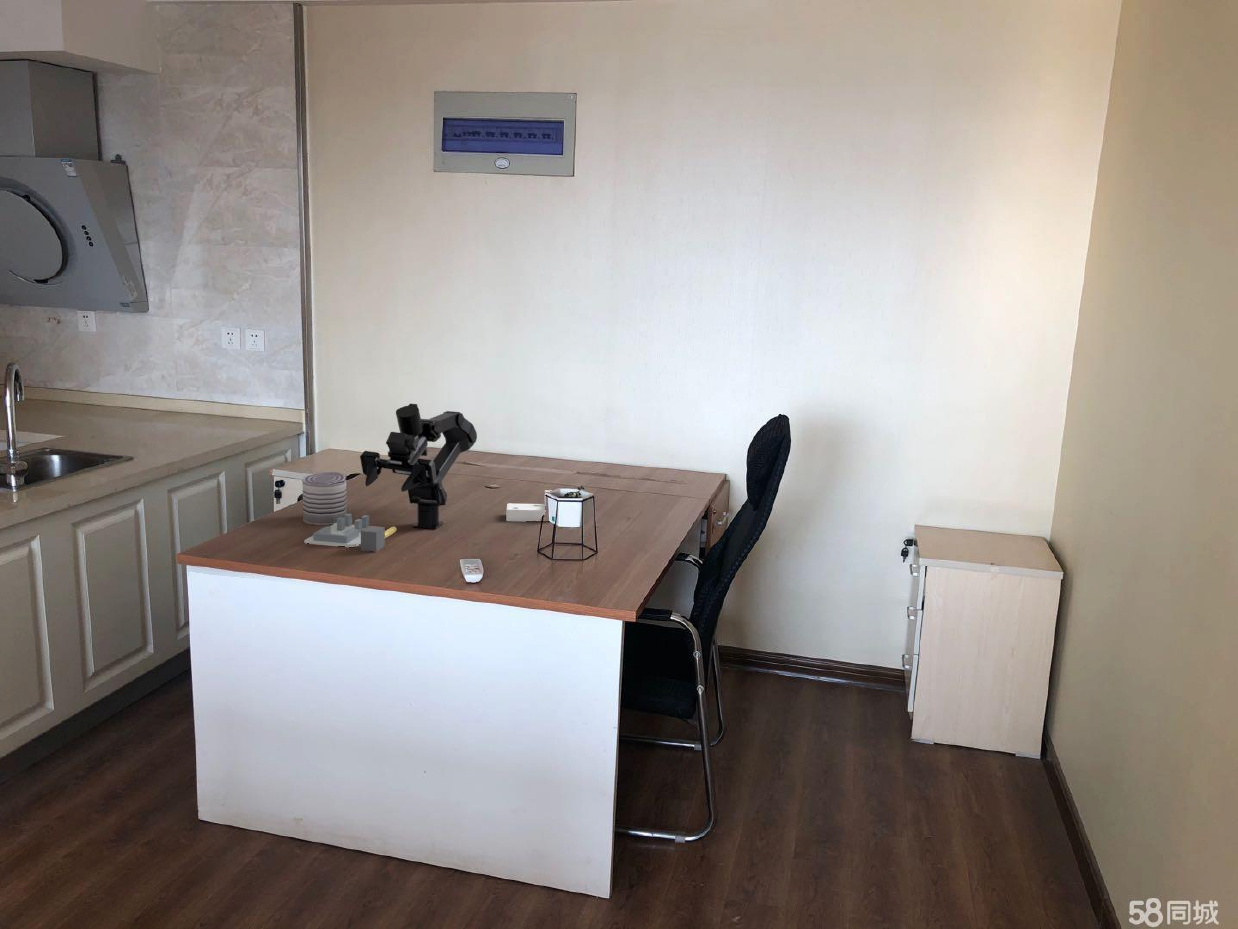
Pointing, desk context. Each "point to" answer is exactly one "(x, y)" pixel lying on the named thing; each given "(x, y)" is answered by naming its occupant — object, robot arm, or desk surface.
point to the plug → (375, 537)
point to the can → (324, 498)
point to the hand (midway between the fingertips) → (384, 487)
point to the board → (340, 532)
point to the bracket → (525, 511)
